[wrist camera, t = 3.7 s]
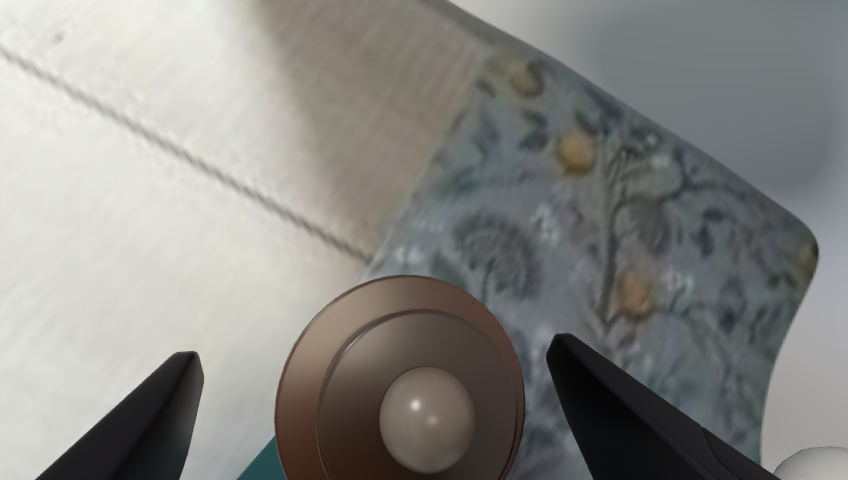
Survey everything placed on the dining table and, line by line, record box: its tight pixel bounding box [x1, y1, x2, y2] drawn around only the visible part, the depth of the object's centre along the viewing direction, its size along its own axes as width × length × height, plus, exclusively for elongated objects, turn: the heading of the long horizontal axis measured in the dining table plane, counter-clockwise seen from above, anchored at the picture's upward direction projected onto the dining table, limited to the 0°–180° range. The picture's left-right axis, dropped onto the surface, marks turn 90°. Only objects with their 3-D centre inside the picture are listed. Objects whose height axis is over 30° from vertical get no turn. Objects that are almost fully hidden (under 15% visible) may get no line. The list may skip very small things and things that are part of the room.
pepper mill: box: [274, 275, 525, 480], centre depth 11 cm, size 5×5×11 cm
